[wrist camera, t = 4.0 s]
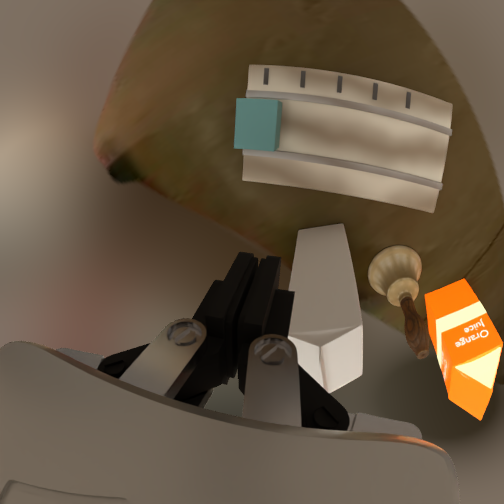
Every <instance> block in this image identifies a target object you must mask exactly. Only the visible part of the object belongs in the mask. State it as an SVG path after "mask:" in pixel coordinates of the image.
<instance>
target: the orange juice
mask: <svg viewBox="0 0 504 504" xmlns="http://www.w3.org/2000/svg"><path fill="white" fill-rule="evenodd" d="M425 300H426V308H427V317H428V327H429V333H430V336H431V339H432V342H433V345H434V348H435V351H436V354H437V358H438V361H439V364H440V367H441V370H442V373H443V376H444V380H445V384H446V387H447V391H448V395H449V399H450V400H451V401H453V402H454V403H456V404H457V405H458V406H460V407H461V408H463V409H465V410H466V411H467V412H469V413H470V414H472V415H473V416H475V417H476V418H478V419H479V420H481V419H482V416H483V414H484V411H485V409H486V406H487V404H488V402H489V399H490V397H491V394H492V387H493V384H494V380H495V376H496V372H497V367H498V363H499V358H500V354H501V350H502V345H503V342H502V340H501V338H500V336H499V334H498V333H497V331H496V329H495V327H494V325H493V323H492V322H491V320H490V318H489V317H488V315H487V313H486V311H485V309H484V307H483V306H482V304H481V303H480V301H479V300H478V298H477V297H476V295H475V294H474V292H473V291H472V289H471V288H470V286H469V285H468V283H467V282H466V280H465V279H462V280H460V281H457V282H455V283H453V284H450V285H448V286H445V287H443V288H441V289H438V290H436V291H433V292H431V293H428V294H425Z"/></svg>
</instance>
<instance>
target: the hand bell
mask: <svg viewBox="0 0 504 504" xmlns="http://www.w3.org/2000/svg"><path fill="white" fill-rule="evenodd" d="M420 274H421V260H420V257H419V256H418V254H417V253H416V252H415V251H414V250H413V249H411V248H410V247H407V246H403V245H395V246H391V247H388V248H385V249H384V250H382V251H381V252H379V253H378V254H377V255H376V256H375V257H374V259H373V260H372V262H371V264H370V266H369V269H368V279H369V282H370V285H371V286H372V288H373V289H374V290H375V291H377V292H378V293H380V294H382V295H385V296H387V298H388V300H389V302H390V303H391V304H393V305H395V306H401V307H402V310H403V313H404V316H405V335H406V339H407V342H408V344H409V346H410V348H411V349H412V350H413V351H414V352H415V354H416V356H417V358H419V359H424V358H426V357H427V356H428V354H429V332H428V329H427V326H426V324H425V322H424V320H423V319H422V317H421V316H420V315H419V314H418V313H417V311H416V309H415V305H414V302H413V301H414V300H415V298H416V297H417V295H418V291H419V287H418V283H417V281H418V279H419V277H420Z"/></svg>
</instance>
